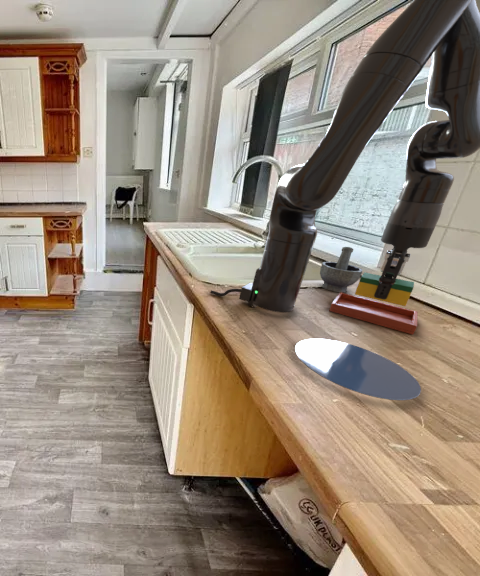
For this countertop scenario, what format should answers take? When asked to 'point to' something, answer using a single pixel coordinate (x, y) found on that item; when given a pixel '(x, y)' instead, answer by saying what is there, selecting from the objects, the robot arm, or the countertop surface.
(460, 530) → the countertop surface
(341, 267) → the mortar and pestle
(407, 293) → the sponge
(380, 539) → the countertop surface
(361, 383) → the mirror
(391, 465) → the countertop surface
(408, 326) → the sponge dish
